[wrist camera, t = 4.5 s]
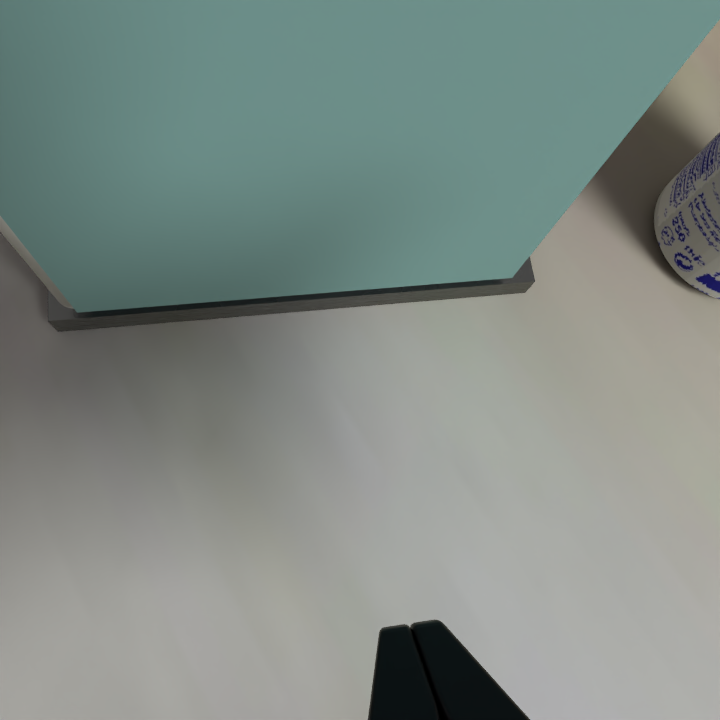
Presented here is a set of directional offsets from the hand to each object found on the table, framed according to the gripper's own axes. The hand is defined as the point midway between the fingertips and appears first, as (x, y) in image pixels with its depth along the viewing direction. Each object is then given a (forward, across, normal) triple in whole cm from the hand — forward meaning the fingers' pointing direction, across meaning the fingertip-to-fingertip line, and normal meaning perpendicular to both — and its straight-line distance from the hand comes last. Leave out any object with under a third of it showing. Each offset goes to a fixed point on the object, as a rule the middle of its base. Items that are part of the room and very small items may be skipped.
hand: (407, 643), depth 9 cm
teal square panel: (+15, 0, +1) cm, 15 cm away
